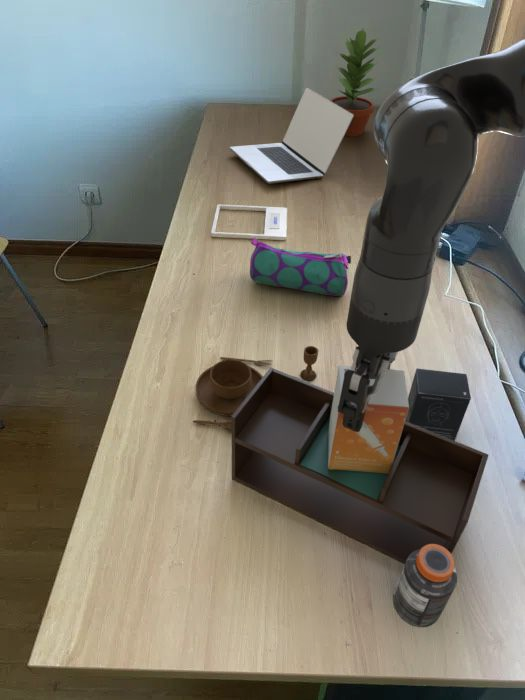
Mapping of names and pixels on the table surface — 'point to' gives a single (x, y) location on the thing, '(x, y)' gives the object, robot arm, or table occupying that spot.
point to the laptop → (301, 142)
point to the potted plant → (356, 84)
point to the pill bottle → (425, 585)
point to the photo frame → (273, 223)
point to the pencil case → (299, 269)
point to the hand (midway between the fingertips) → (364, 404)
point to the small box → (369, 427)
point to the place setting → (237, 383)
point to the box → (438, 401)
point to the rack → (352, 486)
